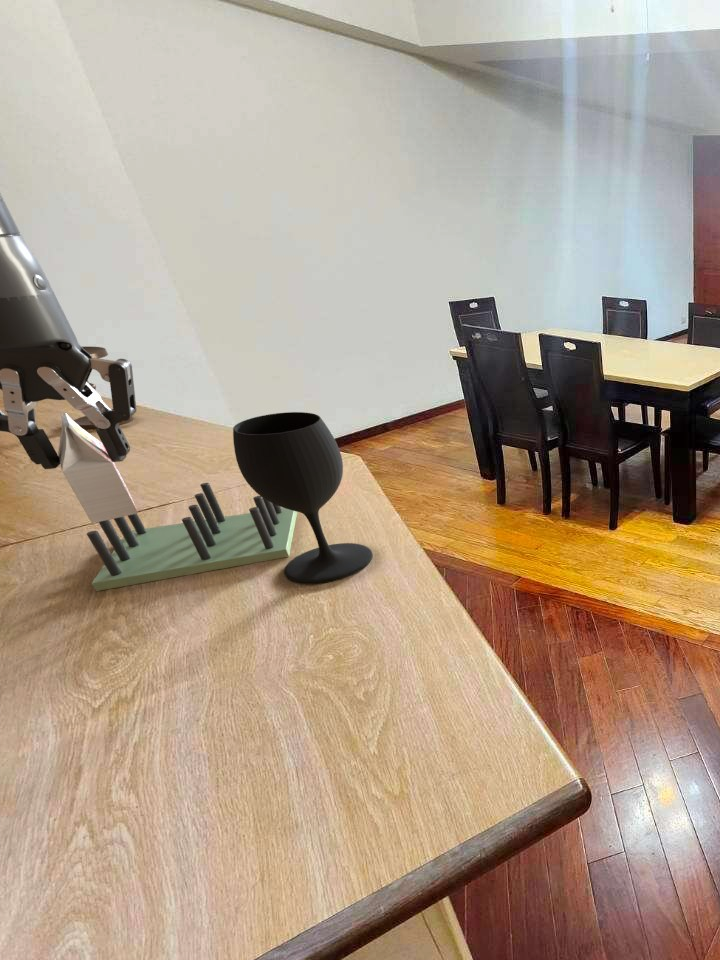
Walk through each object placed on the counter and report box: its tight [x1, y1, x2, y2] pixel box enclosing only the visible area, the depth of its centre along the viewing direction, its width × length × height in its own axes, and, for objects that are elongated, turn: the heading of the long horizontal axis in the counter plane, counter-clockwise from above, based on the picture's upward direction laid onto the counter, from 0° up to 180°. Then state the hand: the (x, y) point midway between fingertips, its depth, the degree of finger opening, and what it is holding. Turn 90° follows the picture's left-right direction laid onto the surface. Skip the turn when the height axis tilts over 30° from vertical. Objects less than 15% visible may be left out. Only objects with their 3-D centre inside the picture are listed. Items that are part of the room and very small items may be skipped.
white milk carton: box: [57, 411, 139, 524], centre depth 63 cm, size 4×7×10 cm, turn 47°
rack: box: [86, 482, 298, 592], centre depth 81 cm, size 20×15×7 cm
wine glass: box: [232, 411, 374, 585], centre depth 76 cm, size 10×10×20 cm
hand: (86, 462), depth 63 cm, fingers closed on white milk carton, 4 cm apart
